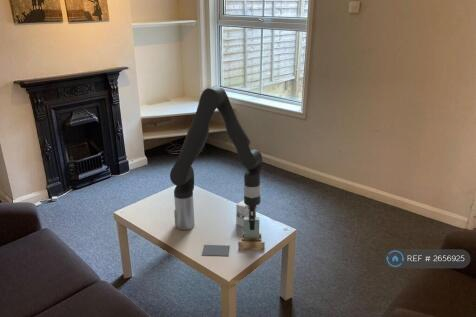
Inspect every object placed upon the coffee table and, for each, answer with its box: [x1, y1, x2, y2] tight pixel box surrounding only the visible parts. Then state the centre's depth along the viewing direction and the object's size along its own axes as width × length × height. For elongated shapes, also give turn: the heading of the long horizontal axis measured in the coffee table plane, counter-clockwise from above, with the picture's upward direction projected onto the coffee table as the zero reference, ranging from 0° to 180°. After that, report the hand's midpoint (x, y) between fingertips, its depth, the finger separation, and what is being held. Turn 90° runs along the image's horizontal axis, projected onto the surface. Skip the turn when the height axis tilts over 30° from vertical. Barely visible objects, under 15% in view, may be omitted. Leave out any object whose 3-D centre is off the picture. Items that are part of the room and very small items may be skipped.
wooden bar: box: [237, 240, 266, 251], centre depth 174 cm, size 12×2×4 cm, turn 87°
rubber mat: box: [201, 244, 231, 257], centre depth 173 cm, size 12×8×1 cm, turn 87°
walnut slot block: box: [241, 232, 262, 242], centre depth 180 cm, size 9×6×2 cm, turn 87°
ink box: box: [235, 199, 248, 228], centre depth 195 cm, size 9×5×12 cm, turn 143°
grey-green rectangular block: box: [243, 216, 260, 238], centre depth 179 cm, size 7×2×12 cm, turn 87°
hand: (252, 224), depth 178 cm, fingers open, 8 cm apart
